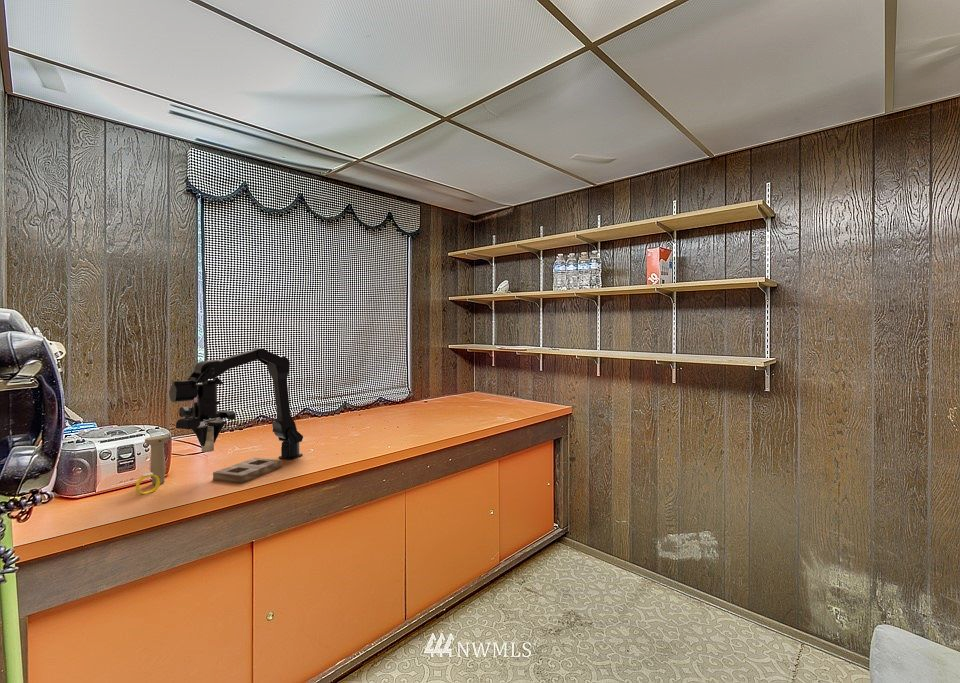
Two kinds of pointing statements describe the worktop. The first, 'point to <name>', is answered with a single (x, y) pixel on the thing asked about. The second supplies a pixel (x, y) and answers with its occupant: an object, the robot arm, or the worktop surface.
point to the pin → (209, 440)
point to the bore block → (247, 470)
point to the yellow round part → (146, 477)
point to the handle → (157, 457)
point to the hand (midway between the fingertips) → (207, 444)
